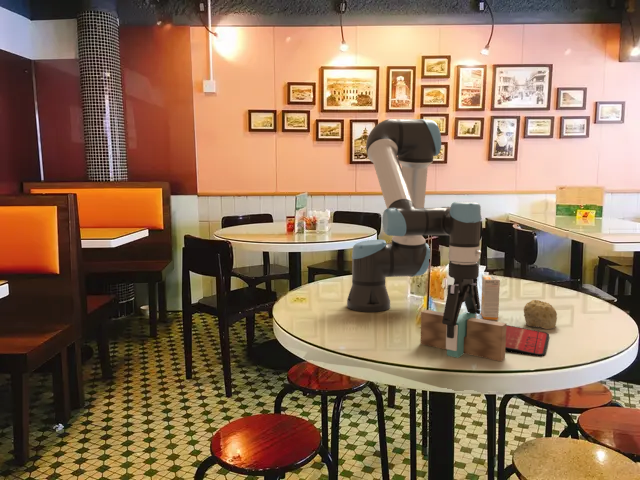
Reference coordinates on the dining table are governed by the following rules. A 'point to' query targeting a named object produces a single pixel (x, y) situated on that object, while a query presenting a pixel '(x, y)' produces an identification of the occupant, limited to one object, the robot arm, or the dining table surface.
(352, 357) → the dining table surface
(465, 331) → the teal plate
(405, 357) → the dining table surface
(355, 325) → the dining table surface
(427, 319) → the walnut board
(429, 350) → the dining table surface
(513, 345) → the binder
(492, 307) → the supplement box
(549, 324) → the decorative item
